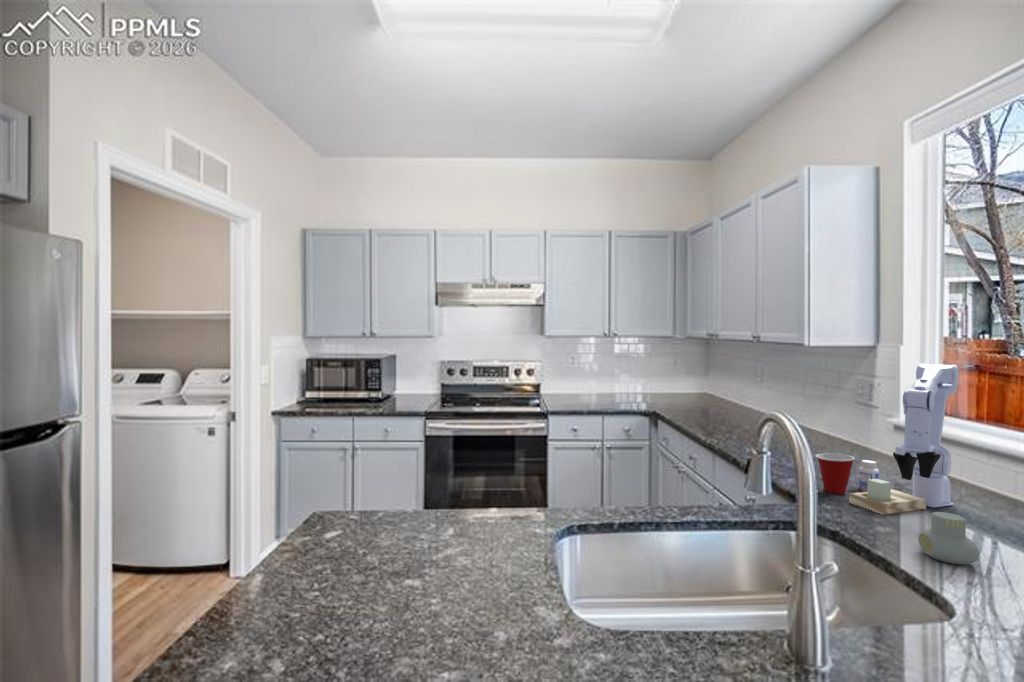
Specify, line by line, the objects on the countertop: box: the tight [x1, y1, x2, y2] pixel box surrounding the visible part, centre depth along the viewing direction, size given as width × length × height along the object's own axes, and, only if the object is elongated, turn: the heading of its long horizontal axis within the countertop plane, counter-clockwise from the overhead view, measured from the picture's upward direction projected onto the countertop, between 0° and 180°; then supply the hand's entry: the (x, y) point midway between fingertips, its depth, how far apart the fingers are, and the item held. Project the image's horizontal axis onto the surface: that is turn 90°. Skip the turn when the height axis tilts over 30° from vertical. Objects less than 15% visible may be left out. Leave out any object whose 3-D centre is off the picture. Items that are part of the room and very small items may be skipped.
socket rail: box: [848, 488, 927, 515], centre depth 149 cm, size 18×10×3 cm, turn 108°
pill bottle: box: [858, 459, 880, 492], centre depth 165 cm, size 6×5×10 cm
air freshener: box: [917, 511, 980, 566], centre depth 113 cm, size 11×8×10 cm
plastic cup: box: [815, 452, 856, 495], centre depth 163 cm, size 11×11×12 cm
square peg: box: [867, 478, 892, 502], centre depth 148 cm, size 4×4×8 cm
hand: (915, 478), depth 143 cm, fingers open, 7 cm apart
